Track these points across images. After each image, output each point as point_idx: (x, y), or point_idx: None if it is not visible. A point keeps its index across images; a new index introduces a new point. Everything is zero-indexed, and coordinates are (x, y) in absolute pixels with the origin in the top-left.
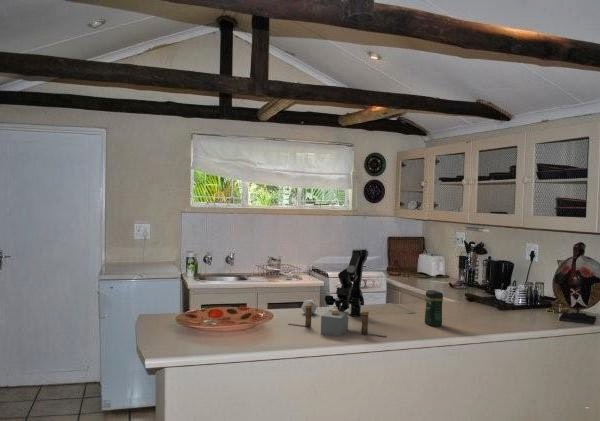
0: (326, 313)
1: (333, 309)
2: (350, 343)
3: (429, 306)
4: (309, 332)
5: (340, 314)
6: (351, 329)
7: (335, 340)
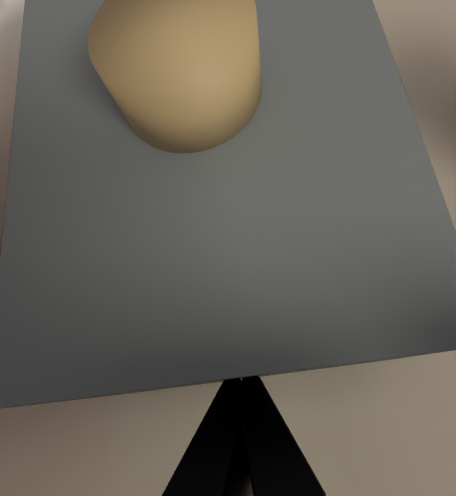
0: (349, 27)
1: (230, 37)
2: (15, 35)
3: None
4: (419, 63)
5: (92, 122)
6: (108, 424)
7: None
